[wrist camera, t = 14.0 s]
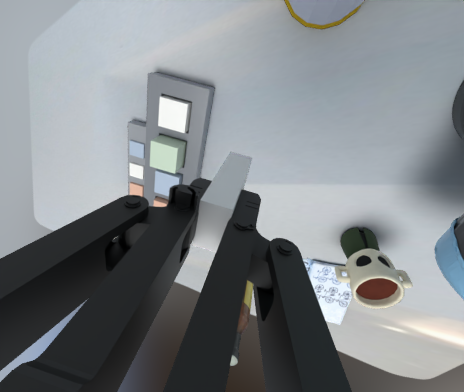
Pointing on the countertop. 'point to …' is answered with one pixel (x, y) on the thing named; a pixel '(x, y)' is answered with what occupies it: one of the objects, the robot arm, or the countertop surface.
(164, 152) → the key sage
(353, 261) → the character mug
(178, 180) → the key slate
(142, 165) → the keypad
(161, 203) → the key terracotta
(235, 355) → the sauce bottle
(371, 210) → the countertop surface
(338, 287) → the folded patterned cloth
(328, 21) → the soap bottle
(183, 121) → the key white
